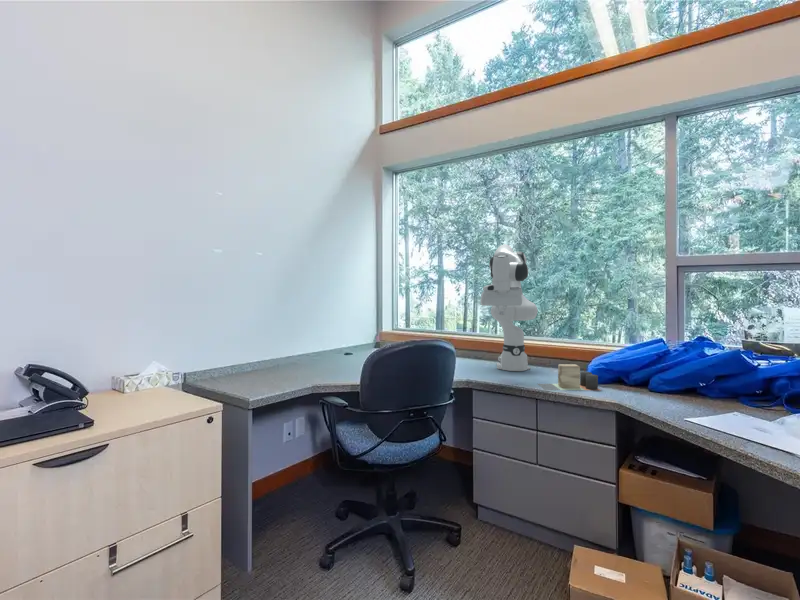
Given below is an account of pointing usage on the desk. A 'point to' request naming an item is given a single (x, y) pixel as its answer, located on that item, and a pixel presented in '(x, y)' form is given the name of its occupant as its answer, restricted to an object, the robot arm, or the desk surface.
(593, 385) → the post
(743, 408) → the desk surface
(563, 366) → the birch block
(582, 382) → the post
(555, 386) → the lane mat
